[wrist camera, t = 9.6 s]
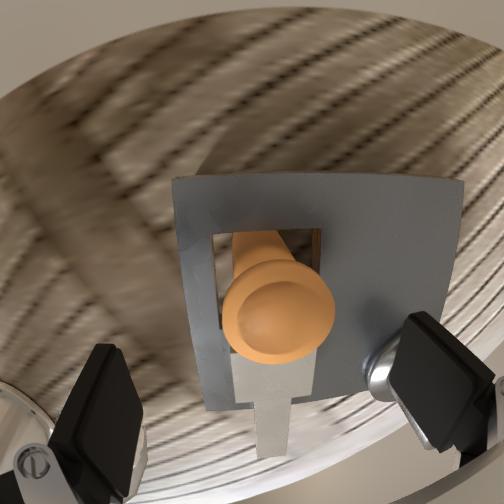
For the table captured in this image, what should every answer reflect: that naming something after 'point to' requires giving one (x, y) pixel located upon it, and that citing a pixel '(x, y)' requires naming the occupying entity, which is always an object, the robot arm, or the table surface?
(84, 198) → the table surface
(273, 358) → the pin
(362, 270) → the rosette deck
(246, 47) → the table surface
